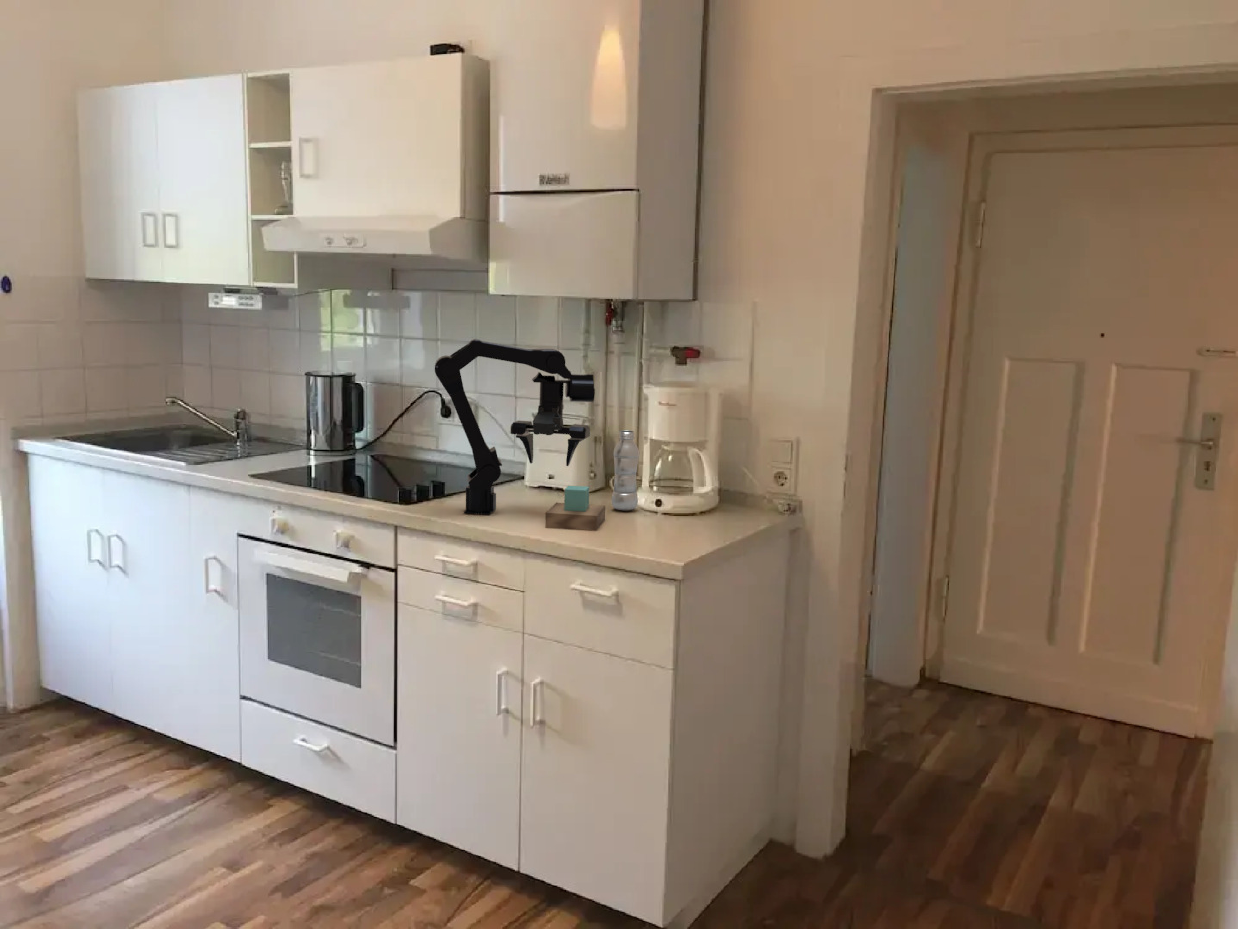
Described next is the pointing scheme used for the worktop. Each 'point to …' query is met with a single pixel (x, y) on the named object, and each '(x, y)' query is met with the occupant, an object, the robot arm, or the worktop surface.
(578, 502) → the teal cube
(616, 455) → the plastic bottle
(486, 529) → the worktop surface
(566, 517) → the walnut box
